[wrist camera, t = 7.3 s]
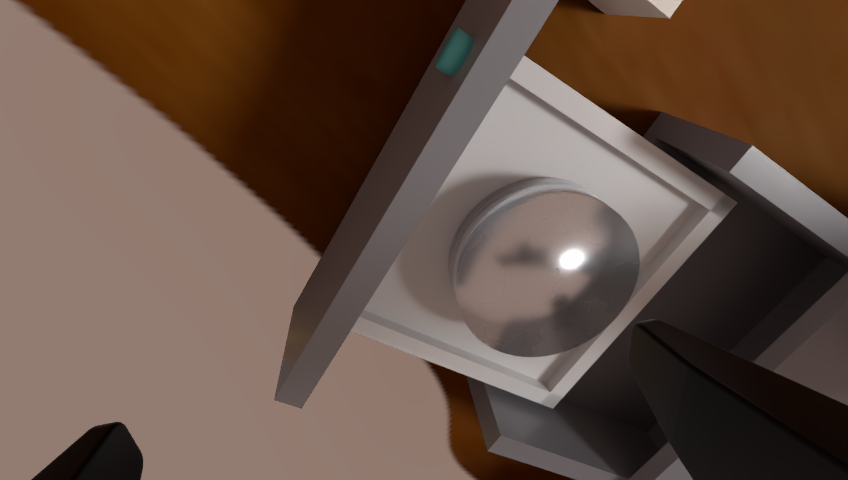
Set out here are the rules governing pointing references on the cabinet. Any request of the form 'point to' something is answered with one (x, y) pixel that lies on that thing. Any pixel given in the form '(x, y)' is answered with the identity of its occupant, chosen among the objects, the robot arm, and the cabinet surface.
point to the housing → (701, 318)
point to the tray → (468, 185)
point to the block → (638, 7)
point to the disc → (542, 267)
